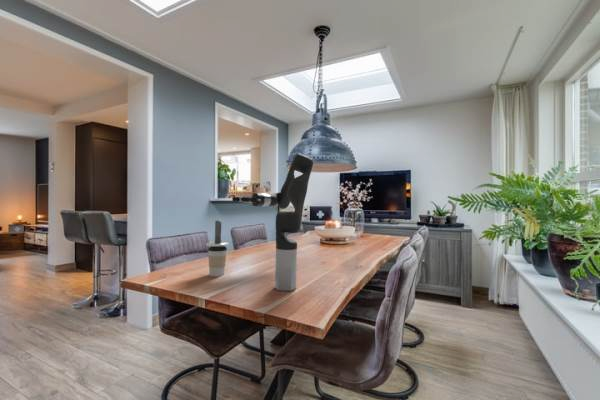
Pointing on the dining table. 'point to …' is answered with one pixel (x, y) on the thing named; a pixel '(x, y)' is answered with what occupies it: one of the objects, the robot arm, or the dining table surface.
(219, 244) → the grey post on base
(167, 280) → the dining table surface
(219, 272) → the coffee cup
